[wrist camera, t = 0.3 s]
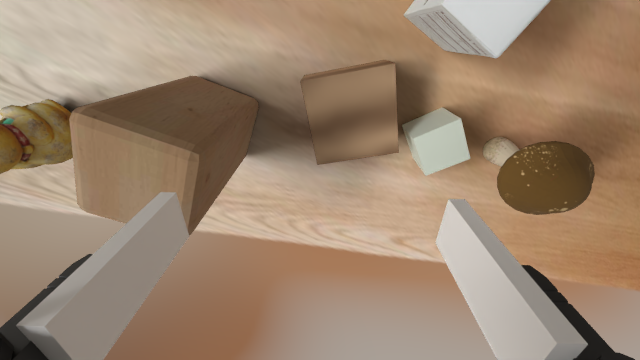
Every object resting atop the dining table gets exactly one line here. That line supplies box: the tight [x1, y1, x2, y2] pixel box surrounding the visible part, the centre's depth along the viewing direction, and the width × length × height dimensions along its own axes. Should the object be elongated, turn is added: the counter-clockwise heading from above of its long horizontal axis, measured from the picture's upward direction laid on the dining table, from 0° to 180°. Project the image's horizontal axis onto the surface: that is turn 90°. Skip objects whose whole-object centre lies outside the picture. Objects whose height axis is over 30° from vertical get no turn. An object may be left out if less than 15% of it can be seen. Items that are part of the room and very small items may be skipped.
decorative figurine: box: [0, 99, 73, 174], centre depth 33 cm, size 10×8×15 cm
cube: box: [402, 107, 470, 176], centre depth 36 cm, size 6×6×6 cm
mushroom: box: [483, 137, 595, 215], centre depth 33 cm, size 9×11×15 cm
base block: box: [300, 60, 399, 165], centre depth 35 cm, size 11×11×6 cm
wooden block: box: [69, 76, 259, 235], centre depth 30 cm, size 10×10×20 cm
